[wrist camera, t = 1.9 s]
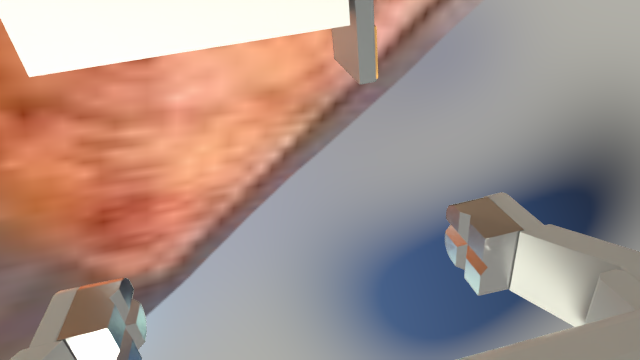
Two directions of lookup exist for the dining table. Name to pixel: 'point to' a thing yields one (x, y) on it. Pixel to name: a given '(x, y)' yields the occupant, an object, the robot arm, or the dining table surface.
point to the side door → (358, 42)
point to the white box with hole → (151, 27)
